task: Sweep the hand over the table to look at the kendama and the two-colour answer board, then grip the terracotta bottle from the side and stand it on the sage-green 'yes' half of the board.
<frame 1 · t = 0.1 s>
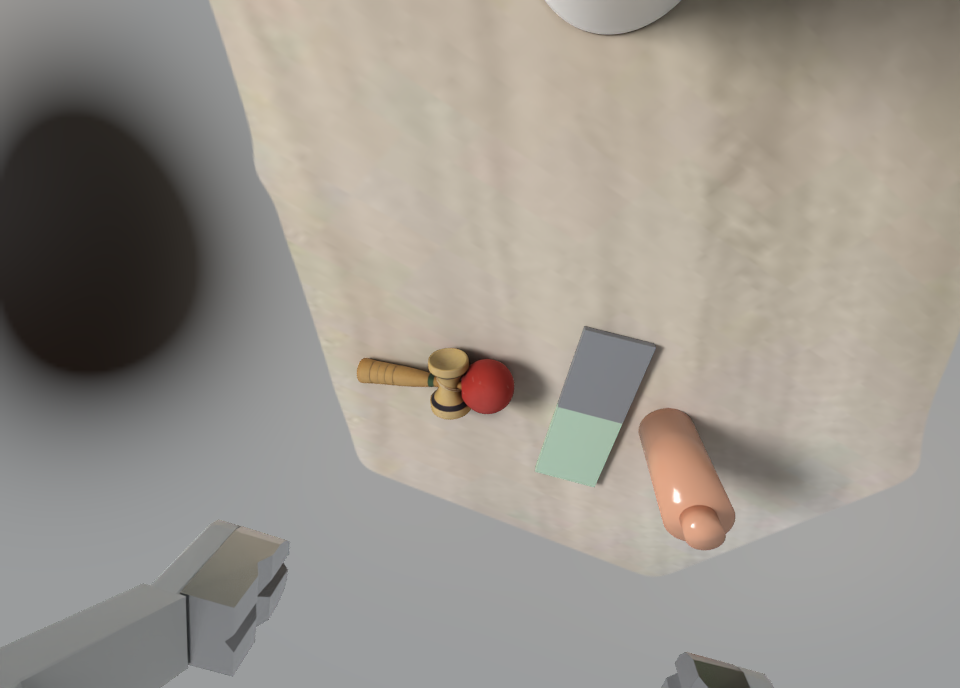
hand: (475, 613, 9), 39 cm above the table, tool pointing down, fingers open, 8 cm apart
kendama: (439, 369, 53), on the table
bottle: (666, 430, 51), on the table
answer board: (589, 410, 52), on the table
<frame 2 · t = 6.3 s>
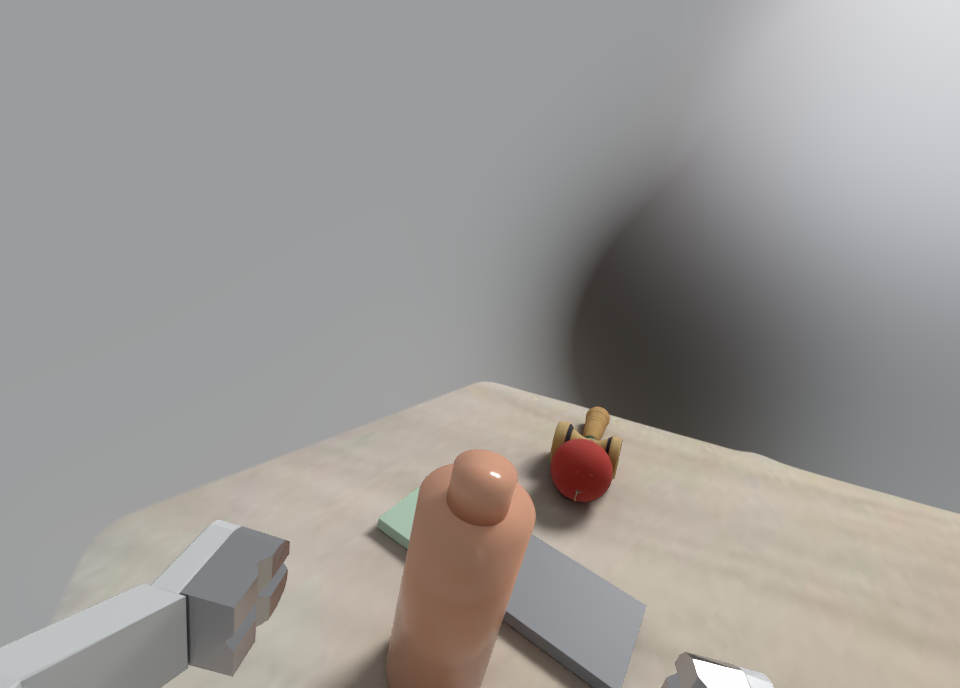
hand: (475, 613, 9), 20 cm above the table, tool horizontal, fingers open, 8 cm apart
kendama: (581, 463, 51), on the table
bottle: (435, 664, 27), on the table
answer board: (505, 569, 35), on the table
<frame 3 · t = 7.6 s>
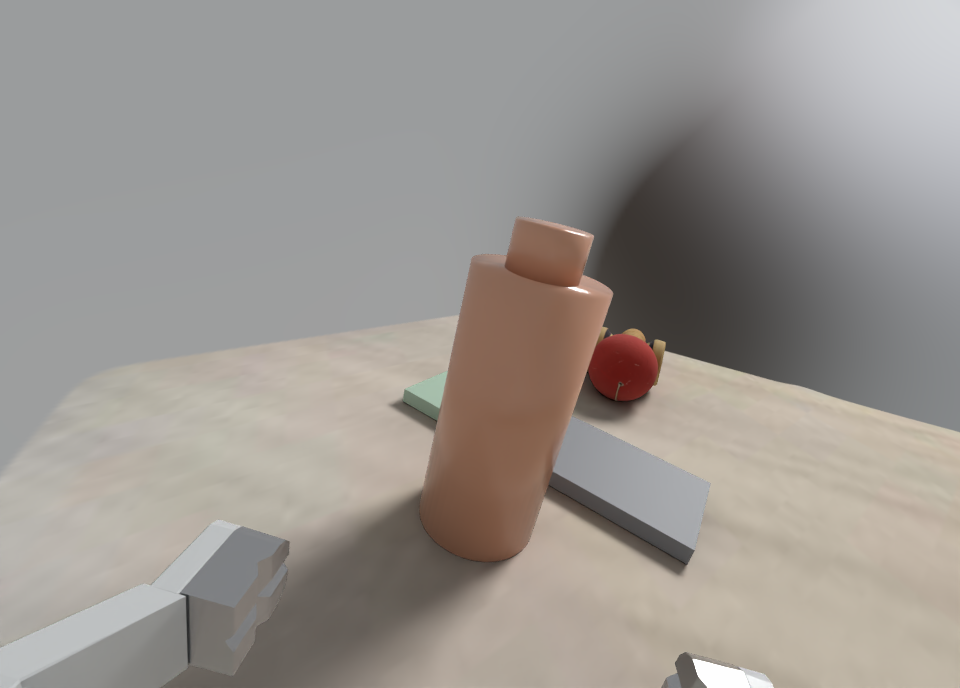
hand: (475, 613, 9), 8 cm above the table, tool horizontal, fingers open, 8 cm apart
kendama: (617, 376, 47), on the table
bottle: (476, 513, 23), on the table
answer board: (547, 446, 31), on the table
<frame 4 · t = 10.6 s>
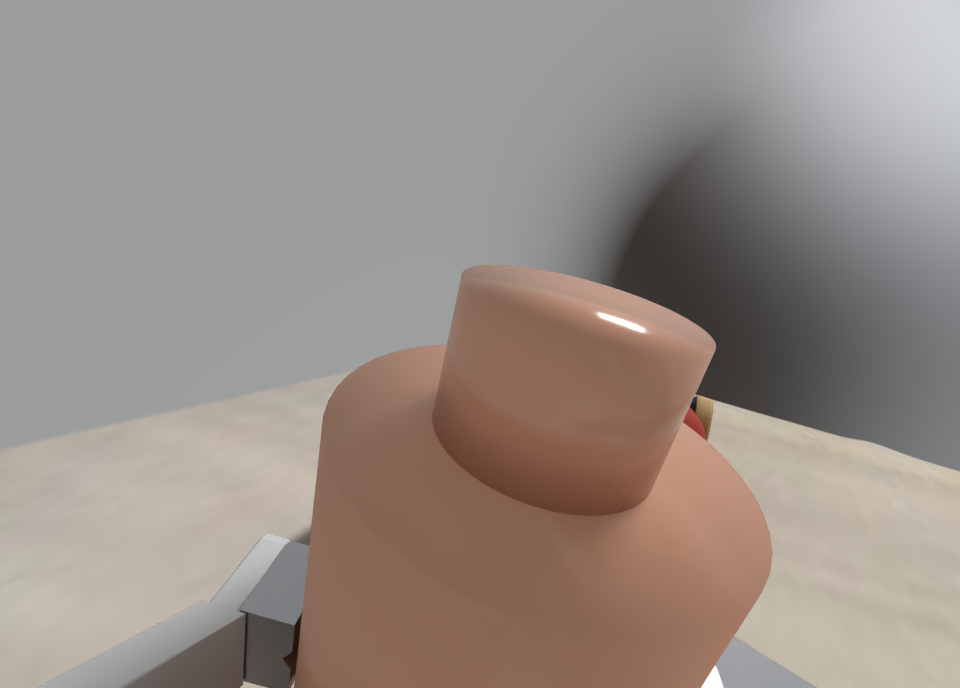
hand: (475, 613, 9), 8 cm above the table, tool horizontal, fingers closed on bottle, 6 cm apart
kendama: (642, 438, 35), on the table
answer board: (548, 614, 19), on the table
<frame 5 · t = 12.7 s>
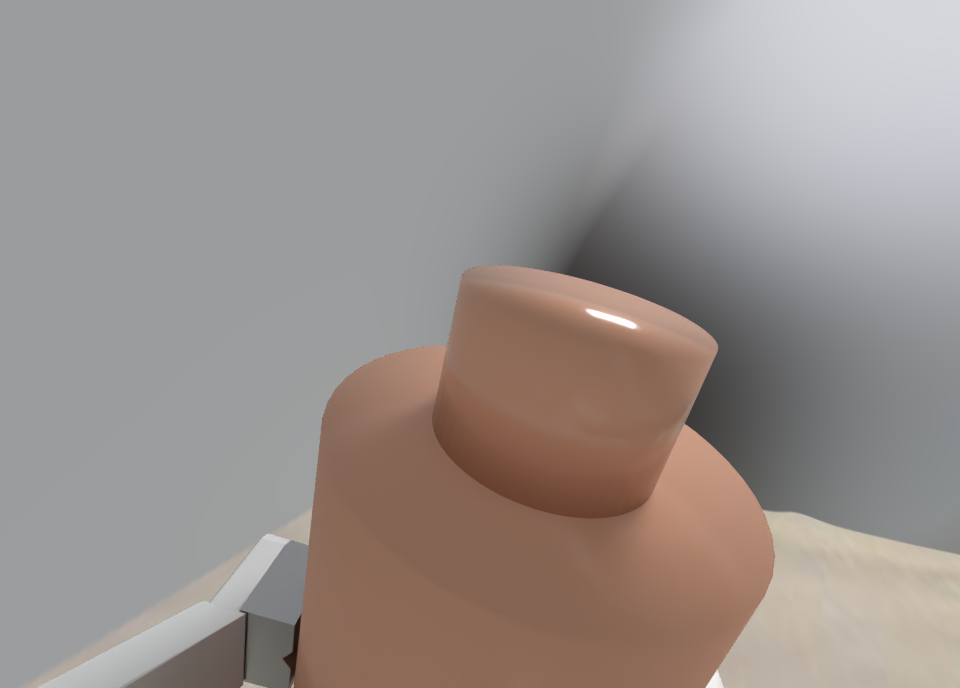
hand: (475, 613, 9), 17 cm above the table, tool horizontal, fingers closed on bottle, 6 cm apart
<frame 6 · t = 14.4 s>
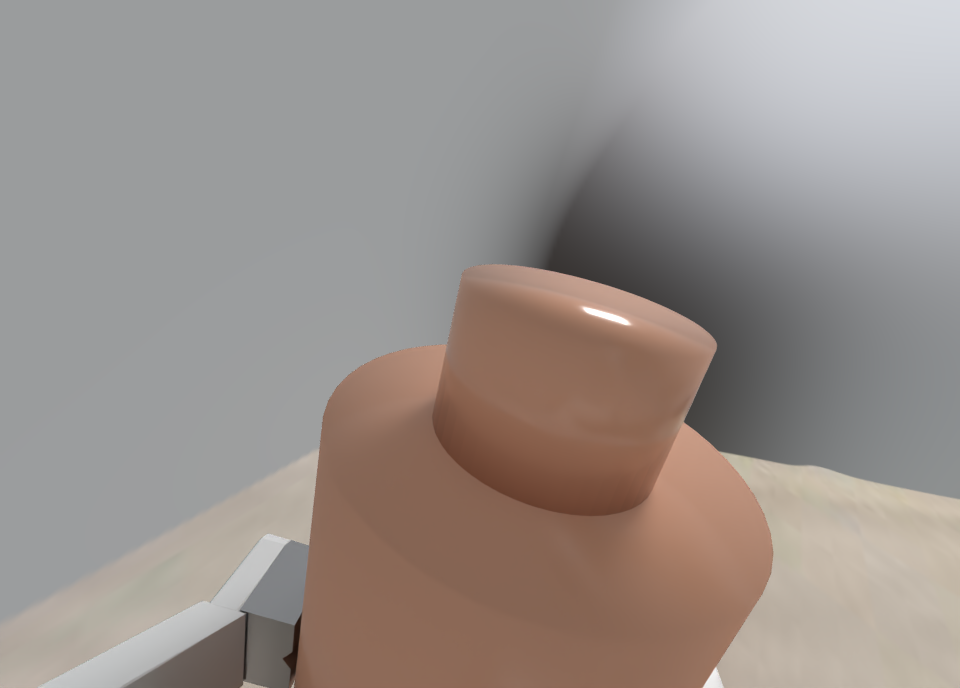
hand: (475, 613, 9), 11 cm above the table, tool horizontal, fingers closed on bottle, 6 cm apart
when the fingers open (10 cm above the table, at t = 15.0 s): bottle drops 1 cm, resting on answer board.
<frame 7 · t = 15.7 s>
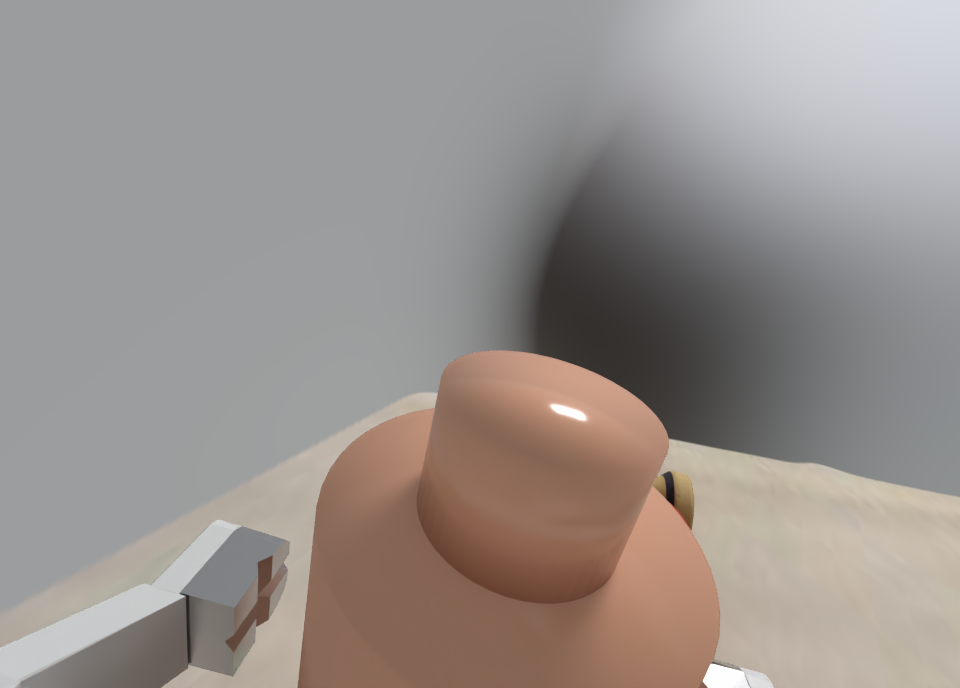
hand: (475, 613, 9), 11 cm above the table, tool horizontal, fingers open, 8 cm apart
kendama: (607, 515, 29), on the table
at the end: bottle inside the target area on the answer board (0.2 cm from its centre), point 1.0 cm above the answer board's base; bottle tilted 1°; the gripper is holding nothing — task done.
